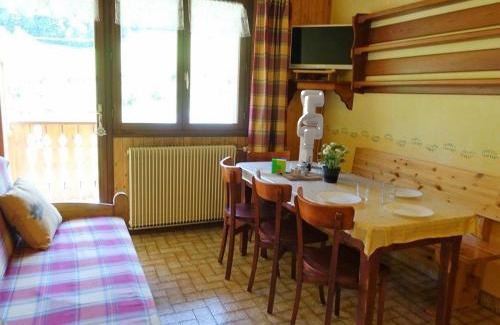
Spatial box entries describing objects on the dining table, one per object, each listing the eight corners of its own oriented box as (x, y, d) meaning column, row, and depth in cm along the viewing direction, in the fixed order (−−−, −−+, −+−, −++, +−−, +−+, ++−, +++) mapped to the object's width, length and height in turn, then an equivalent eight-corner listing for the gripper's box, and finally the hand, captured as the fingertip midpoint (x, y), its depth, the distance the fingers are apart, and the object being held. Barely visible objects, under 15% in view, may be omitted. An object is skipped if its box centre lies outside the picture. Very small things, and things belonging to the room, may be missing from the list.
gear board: (282, 175, 275) (283, 165, 274) (313, 175, 282) (314, 165, 280) (289, 180, 262) (290, 169, 260) (322, 180, 268) (323, 169, 267)
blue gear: (300, 169, 291) (300, 163, 289) (308, 169, 292) (309, 162, 291) (303, 172, 284) (304, 165, 283) (312, 171, 286) (312, 165, 285)
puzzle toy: (285, 171, 290) (286, 158, 288) (285, 174, 280) (286, 160, 279) (271, 170, 291) (272, 157, 289) (271, 173, 281) (272, 159, 279)
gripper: (298, 143, 291) (297, 167, 295) (308, 148, 275) (306, 173, 279) (308, 143, 293) (306, 166, 297) (318, 148, 277) (315, 173, 281)
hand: (306, 169), depth 288 cm, fingers closed on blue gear, 6 cm apart
